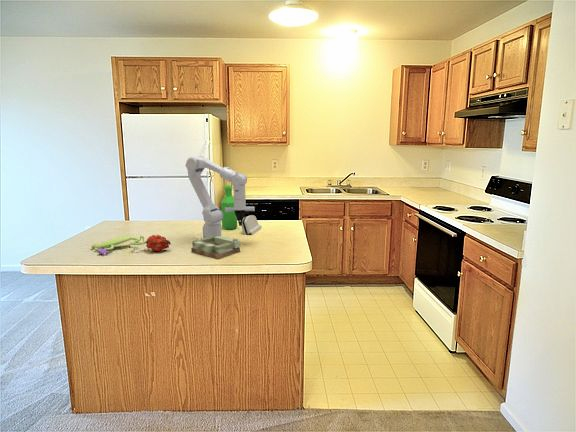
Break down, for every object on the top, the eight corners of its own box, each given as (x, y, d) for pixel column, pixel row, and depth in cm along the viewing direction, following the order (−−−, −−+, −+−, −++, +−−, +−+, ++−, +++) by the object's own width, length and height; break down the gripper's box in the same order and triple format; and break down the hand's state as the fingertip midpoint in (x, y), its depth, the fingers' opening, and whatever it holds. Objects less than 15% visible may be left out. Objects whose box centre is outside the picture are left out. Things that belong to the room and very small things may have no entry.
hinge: (252, 235, 211) (246, 218, 210) (244, 237, 213) (238, 220, 212) (262, 228, 227) (256, 212, 226) (255, 230, 229) (249, 214, 227)
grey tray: (191, 251, 183) (190, 241, 181) (213, 244, 194) (213, 235, 192) (218, 259, 172) (217, 248, 171) (240, 251, 183) (239, 241, 182)
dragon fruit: (145, 253, 186) (170, 257, 186) (140, 247, 178) (165, 251, 178) (150, 236, 189) (175, 240, 189) (145, 230, 181) (170, 234, 181)
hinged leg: (239, 246, 182) (239, 239, 182) (235, 248, 180) (235, 241, 179) (219, 241, 191) (218, 235, 190) (214, 243, 188) (214, 236, 188)
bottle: (240, 227, 228) (239, 185, 223) (230, 230, 221) (229, 187, 215) (228, 225, 233) (227, 184, 227) (218, 228, 225) (217, 186, 220)
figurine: (151, 251, 184) (150, 240, 183) (88, 258, 174) (87, 246, 173) (150, 241, 201) (149, 231, 200) (92, 247, 191) (91, 236, 190)
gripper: (253, 196, 196) (254, 223, 199) (224, 197, 194) (225, 224, 197) (254, 199, 189) (255, 226, 192) (224, 200, 187) (225, 227, 190)
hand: (240, 225), depth 194 cm, fingers closed
